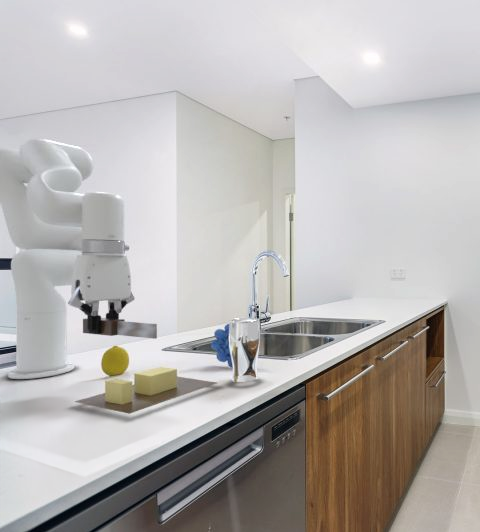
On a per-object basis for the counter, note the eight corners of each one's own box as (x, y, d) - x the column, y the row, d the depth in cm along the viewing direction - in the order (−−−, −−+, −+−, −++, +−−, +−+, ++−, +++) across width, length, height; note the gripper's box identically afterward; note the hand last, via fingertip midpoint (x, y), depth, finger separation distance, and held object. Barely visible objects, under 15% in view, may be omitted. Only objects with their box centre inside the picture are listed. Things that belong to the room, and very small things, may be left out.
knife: (82, 333, 88) (82, 318, 88) (96, 331, 91) (96, 317, 91) (149, 339, 80) (149, 323, 80) (162, 337, 83) (162, 322, 83)
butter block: (134, 392, 83) (134, 373, 83) (160, 384, 88) (160, 366, 88) (150, 395, 81) (150, 376, 81) (177, 387, 86) (177, 368, 86)
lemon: (114, 382, 94) (114, 348, 94) (95, 380, 95) (95, 347, 95) (134, 375, 99) (134, 343, 99) (116, 374, 100) (116, 342, 100)
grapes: (208, 373, 101) (208, 326, 101) (212, 367, 108) (212, 323, 107) (257, 370, 105) (257, 324, 105) (257, 364, 111) (257, 321, 111)
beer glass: (223, 383, 93) (223, 319, 93) (251, 377, 98) (251, 316, 98) (236, 389, 88) (237, 322, 88) (265, 383, 94) (265, 319, 93)
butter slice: (104, 401, 77) (104, 381, 77) (115, 398, 79) (115, 378, 79) (122, 405, 75) (122, 384, 75) (132, 401, 77) (132, 381, 77)
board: (74, 407, 77) (74, 401, 77) (168, 379, 96) (168, 374, 96) (129, 420, 71) (129, 413, 71) (218, 387, 90) (218, 382, 90)
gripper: (129, 250, 97) (129, 325, 97) (49, 248, 82) (49, 337, 82) (150, 250, 94) (150, 328, 94) (71, 247, 79) (71, 340, 79)
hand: (103, 331), depth 88 cm, fingers closed on knife, 2 cm apart
